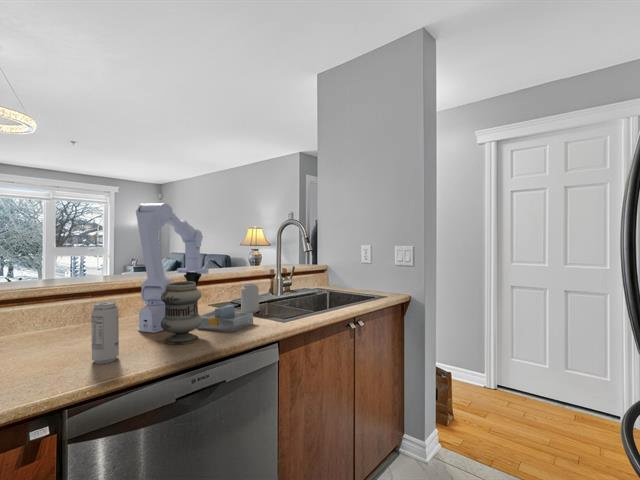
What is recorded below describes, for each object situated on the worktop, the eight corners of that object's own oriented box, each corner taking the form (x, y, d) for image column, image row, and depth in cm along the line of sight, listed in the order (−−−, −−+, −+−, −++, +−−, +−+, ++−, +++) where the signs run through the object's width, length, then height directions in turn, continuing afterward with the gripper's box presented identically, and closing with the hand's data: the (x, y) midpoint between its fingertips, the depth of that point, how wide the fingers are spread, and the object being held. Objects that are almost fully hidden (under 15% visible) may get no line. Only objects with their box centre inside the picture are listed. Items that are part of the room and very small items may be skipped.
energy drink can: (122, 359, 91) (121, 303, 91) (96, 366, 86) (95, 306, 86) (114, 354, 95) (113, 300, 95) (88, 360, 90) (88, 303, 90)
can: (260, 313, 146) (260, 284, 146) (242, 314, 143) (242, 285, 143) (257, 309, 153) (256, 282, 153) (239, 311, 150) (239, 283, 150)
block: (221, 326, 121) (221, 309, 121) (215, 325, 122) (215, 309, 122) (234, 321, 129) (234, 305, 129) (228, 320, 130) (228, 304, 129)
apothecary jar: (157, 347, 101) (156, 286, 101) (164, 336, 112) (163, 281, 112) (201, 344, 104) (200, 284, 104) (203, 333, 116) (203, 279, 115)
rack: (232, 332, 116) (232, 320, 116) (194, 328, 122) (194, 316, 122) (253, 323, 128) (253, 312, 128) (217, 320, 134) (217, 309, 134)
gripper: (213, 257, 145) (213, 290, 145) (185, 257, 150) (186, 288, 150) (201, 258, 138) (202, 292, 139) (173, 258, 144) (173, 290, 144)
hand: (192, 290), depth 144 cm, fingers closed
